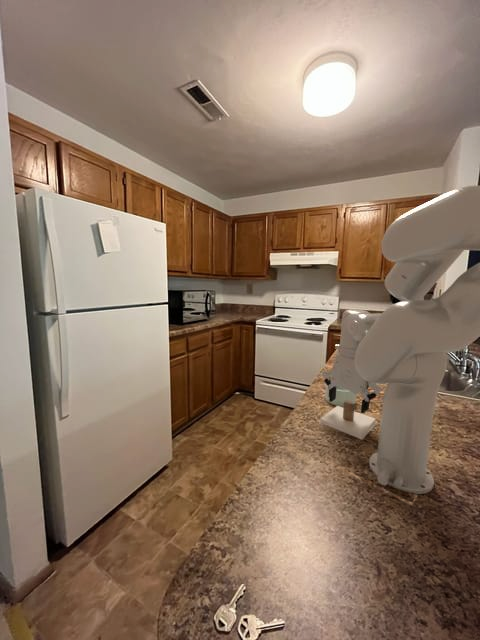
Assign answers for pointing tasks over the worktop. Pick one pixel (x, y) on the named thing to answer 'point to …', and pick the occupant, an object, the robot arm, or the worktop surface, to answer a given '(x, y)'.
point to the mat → (351, 434)
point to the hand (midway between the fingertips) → (347, 405)
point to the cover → (348, 419)
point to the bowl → (341, 396)
